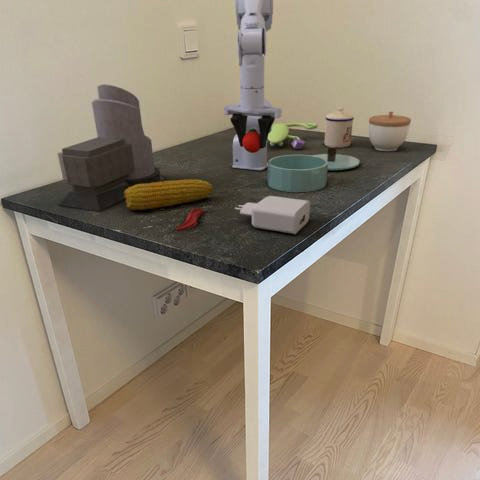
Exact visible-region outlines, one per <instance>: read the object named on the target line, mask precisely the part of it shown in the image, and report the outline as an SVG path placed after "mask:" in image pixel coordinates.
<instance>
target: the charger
mask: <svg viewBox="0 0 480 480" xmlns="http://www.w3.org/2000/svg"><path fill="white" fill-rule="evenodd" d="M234 210H237V211H239V215H240V216H242V217H248V218H251V225H252V226H253V228H256V229H261V230H267V231H273V232H279V233H286V234H291V235H296V234H297V233H298V232H299V231H300V230H302V228H303V227H305V226H306V225H307V224H308V222H309V220H310V213H311V200H306V199H298V198H290V197H283V196H276V195H268V196H265V197H264V198H262V199H261V200H260V201H259V202H248V201H247V202H246V203H245V204H243V205H242V204H239V205H238V207H234Z"/></svg>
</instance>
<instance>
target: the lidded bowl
mask: <svg viewBox="0 0 480 480" xmlns="http://www.w3.org/2000/svg"><path fill="white" fill-rule="evenodd" d="M411 122H412V119H411V117H408V116H404V115H397V114H394V111H388V114H379V115H373V116H370V117H369V119H368V139H369V141H370V143H371V145H372V146H373V147H374V150H376V151H381V152H394V151H397V150H398V149H399V148H400V147H401V146H402V145H403V144H404V142H405V141H406V140H407V137H408V135H409V132H410V125H411Z"/></svg>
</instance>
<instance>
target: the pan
mask: <svg viewBox="0 0 480 480" xmlns="http://www.w3.org/2000/svg"><path fill="white" fill-rule="evenodd" d="M267 162H268V167H267V185H268V187H270V188H271V189H273V190H275V191H280V192H288V193H308V192H315V191H319V190H321V189H323V188H325V187H326V186H327V182H328V171H329V170H328V161H327V160H326V159H324V158H321V157H317V156H313V155H311V154H285V155H278V156H274V157H271V158H270V159H268V160H267Z"/></svg>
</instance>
